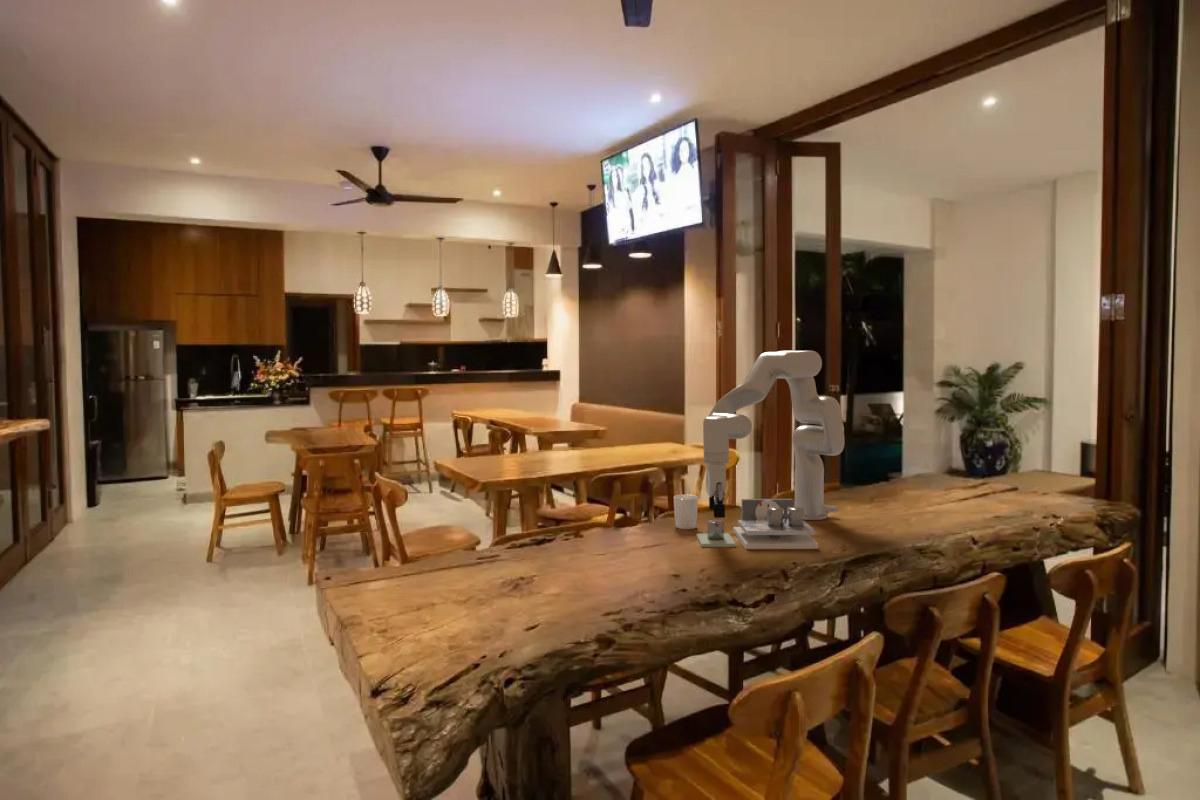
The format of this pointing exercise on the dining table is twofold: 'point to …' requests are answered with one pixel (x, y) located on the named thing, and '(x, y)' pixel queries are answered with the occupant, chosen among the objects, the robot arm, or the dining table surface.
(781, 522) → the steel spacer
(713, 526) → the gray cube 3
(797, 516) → the steel spacer
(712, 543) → the green pad
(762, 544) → the scale housing
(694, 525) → the white cup
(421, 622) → the dining table surface
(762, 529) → the scale pan
